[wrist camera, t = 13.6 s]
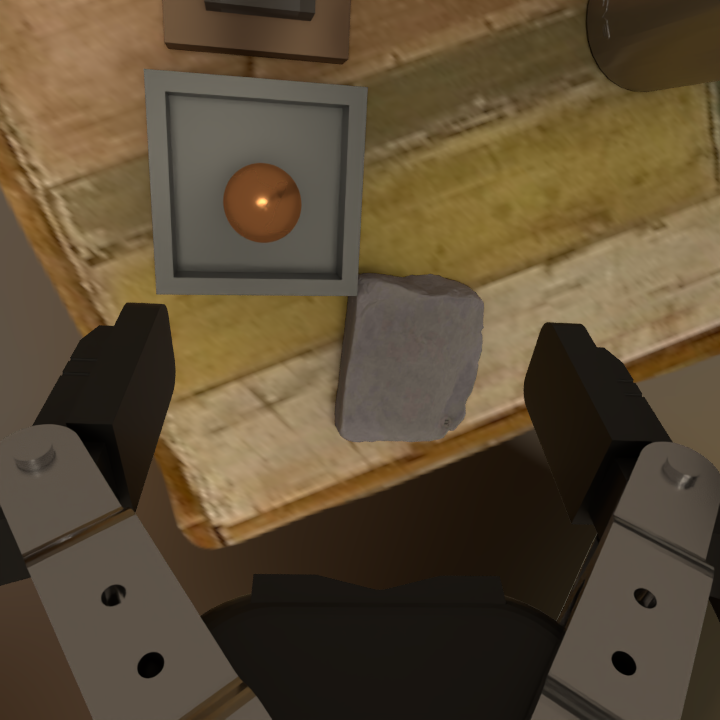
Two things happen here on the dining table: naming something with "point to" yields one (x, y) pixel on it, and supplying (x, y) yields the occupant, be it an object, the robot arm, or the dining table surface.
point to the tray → (244, 147)
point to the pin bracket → (261, 28)
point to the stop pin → (262, 202)
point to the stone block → (407, 358)
